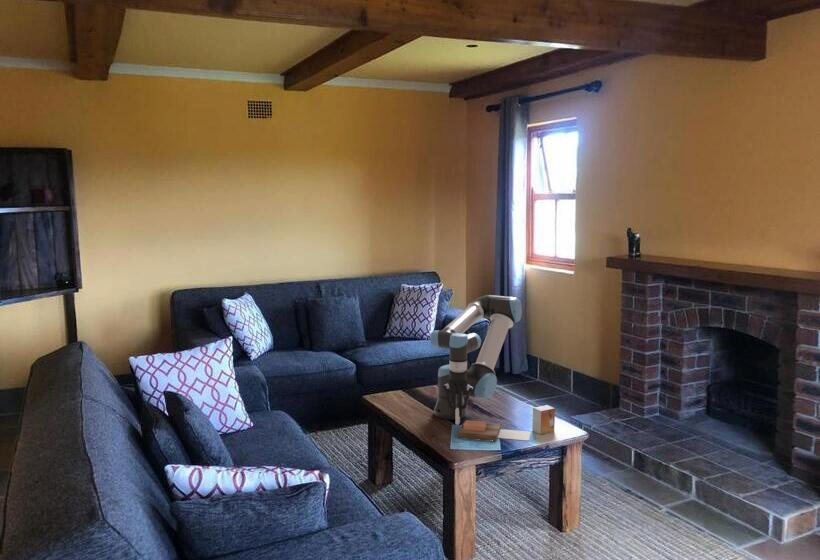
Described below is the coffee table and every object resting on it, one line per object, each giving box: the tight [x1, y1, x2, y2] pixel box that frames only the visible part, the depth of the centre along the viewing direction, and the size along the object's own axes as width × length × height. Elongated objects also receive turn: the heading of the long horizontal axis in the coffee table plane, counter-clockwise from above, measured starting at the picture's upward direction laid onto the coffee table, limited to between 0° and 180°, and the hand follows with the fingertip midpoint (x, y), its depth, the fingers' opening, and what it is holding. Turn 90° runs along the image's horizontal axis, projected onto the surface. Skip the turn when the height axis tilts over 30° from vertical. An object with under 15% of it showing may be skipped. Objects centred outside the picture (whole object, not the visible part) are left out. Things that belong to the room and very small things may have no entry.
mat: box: [497, 428, 532, 442], centre depth 281 cm, size 10×13×1 cm
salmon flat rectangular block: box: [463, 419, 488, 431], centre depth 283 cm, size 9×6×2 cm, turn 75°
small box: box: [531, 404, 556, 435], centre depth 285 cm, size 8×6×10 cm
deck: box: [457, 420, 502, 442], centre depth 283 cm, size 14×16×2 cm
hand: (457, 423), depth 285 cm, fingers closed
